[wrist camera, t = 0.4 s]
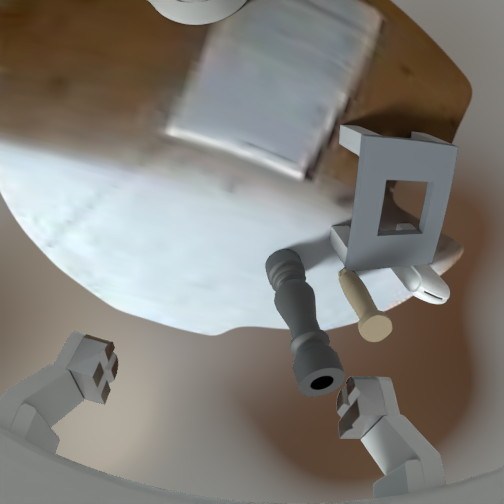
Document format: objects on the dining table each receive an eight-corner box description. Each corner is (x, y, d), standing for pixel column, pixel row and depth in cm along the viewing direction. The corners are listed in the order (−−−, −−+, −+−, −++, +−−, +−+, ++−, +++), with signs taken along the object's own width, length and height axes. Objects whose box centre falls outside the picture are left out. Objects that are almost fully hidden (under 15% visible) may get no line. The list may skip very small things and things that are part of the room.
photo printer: (425, 258, 58) (458, 294, 48) (414, 274, 60) (444, 312, 50) (393, 242, 55) (426, 280, 45) (381, 260, 57) (411, 301, 47)
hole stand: (340, 124, 43) (366, 136, 36) (425, 133, 45) (458, 146, 37) (329, 241, 54) (347, 271, 46) (407, 237, 55) (431, 263, 47)
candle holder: (305, 252, 54) (356, 366, 33) (293, 281, 57) (333, 397, 36) (271, 246, 53) (308, 365, 32) (260, 276, 56) (287, 397, 35)
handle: (345, 255, 56) (380, 309, 43) (363, 274, 58) (397, 328, 46) (325, 272, 57) (354, 330, 44) (344, 290, 60) (373, 346, 47)
